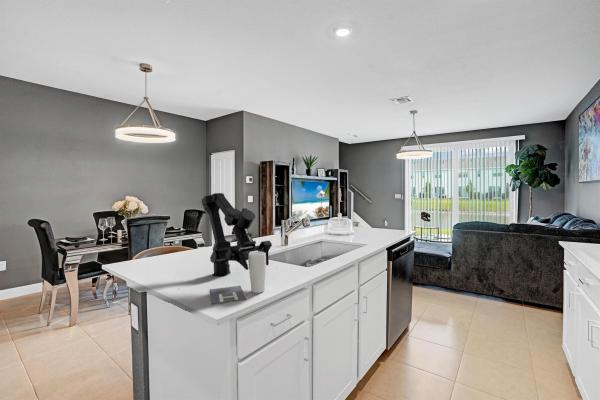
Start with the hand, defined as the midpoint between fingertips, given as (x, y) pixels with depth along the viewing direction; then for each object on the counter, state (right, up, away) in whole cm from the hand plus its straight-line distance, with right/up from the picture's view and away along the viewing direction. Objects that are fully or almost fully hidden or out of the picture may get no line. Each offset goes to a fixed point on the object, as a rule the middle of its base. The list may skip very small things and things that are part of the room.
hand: (257, 267), depth 115 cm
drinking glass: (0, -10, +1) cm, 10 cm away
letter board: (-11, -10, -2) cm, 15 cm away
